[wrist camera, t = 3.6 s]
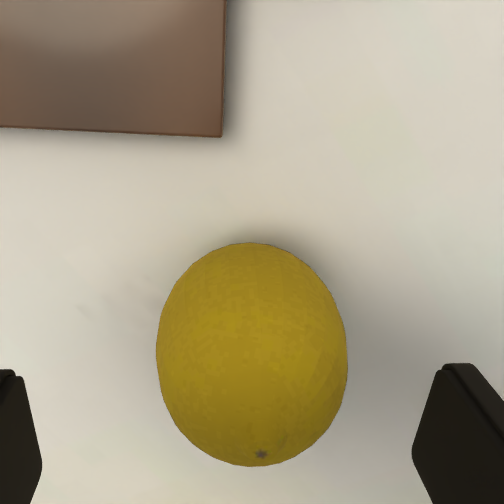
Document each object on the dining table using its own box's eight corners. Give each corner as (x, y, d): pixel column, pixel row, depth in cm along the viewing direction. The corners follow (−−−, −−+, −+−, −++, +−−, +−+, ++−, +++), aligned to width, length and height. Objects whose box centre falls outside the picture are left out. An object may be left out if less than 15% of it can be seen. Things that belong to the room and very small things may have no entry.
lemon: (146, 239, 16) (82, 405, 8) (291, 187, 15) (355, 315, 8) (204, 352, 18) (194, 557, 11) (331, 310, 17) (409, 495, 10)
